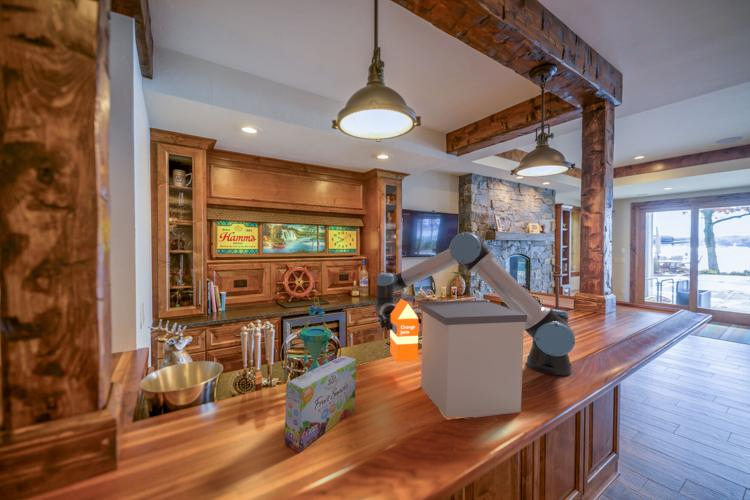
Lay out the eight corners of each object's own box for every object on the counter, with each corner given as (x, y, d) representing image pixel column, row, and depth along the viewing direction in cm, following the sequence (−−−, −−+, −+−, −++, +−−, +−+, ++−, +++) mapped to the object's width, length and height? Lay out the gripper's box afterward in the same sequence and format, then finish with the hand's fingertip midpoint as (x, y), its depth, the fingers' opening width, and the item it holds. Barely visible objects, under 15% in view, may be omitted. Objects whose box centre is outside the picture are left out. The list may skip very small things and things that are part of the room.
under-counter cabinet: (482, 378, 106) (485, 300, 105) (523, 411, 85) (527, 314, 85) (415, 384, 101) (417, 301, 100) (442, 421, 80) (445, 317, 79)
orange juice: (396, 362, 101) (397, 303, 101) (389, 352, 110) (390, 298, 109) (418, 360, 103) (419, 302, 102) (410, 351, 111) (410, 298, 111)
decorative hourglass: (338, 385, 99) (339, 295, 98) (318, 401, 89) (320, 301, 88) (311, 378, 103) (312, 292, 102) (289, 392, 93) (291, 297, 93)
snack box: (300, 455, 66) (301, 388, 66) (283, 445, 69) (284, 381, 69) (356, 410, 84) (357, 357, 84) (340, 404, 87) (341, 353, 87)
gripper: (414, 321, 126) (436, 338, 104) (366, 323, 121) (378, 342, 99) (414, 304, 126) (437, 317, 103) (366, 305, 121) (378, 319, 99)
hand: (408, 329), depth 101 cm, fingers closed on orange juice, 8 cm apart
